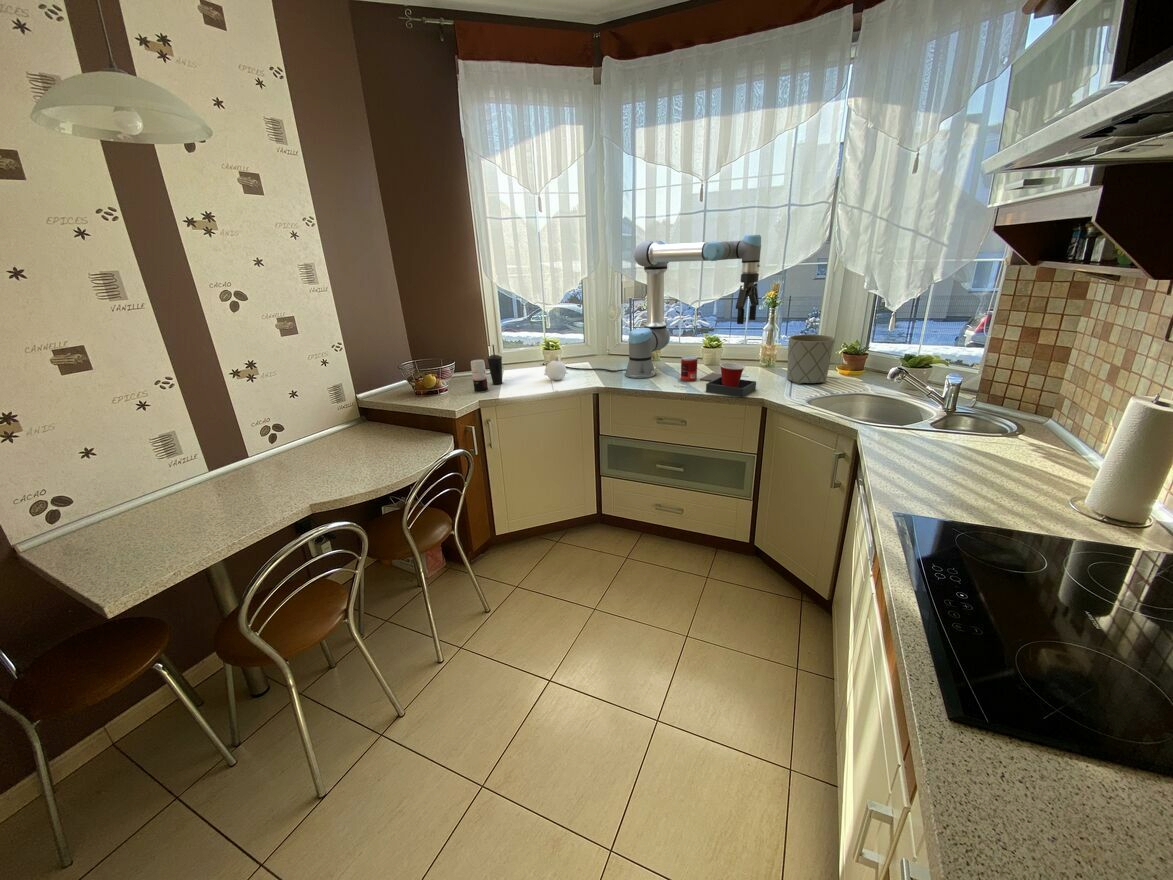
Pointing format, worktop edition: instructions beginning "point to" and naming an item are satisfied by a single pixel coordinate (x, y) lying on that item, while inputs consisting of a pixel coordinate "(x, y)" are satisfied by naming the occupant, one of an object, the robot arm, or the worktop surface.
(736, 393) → the dark grey tray
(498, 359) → the drinking cup
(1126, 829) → the worktop surface
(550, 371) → the ornament
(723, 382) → the plastic cup
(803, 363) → the planter
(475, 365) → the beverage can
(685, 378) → the canned food
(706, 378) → the grey square plate
